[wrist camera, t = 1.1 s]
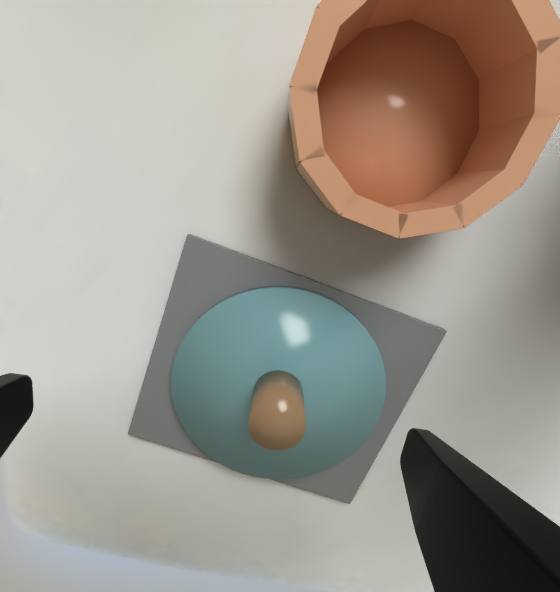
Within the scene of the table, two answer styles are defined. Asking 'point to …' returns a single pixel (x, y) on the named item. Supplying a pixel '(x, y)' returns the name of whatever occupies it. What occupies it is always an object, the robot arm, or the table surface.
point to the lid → (278, 382)
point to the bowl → (423, 107)
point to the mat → (254, 273)
